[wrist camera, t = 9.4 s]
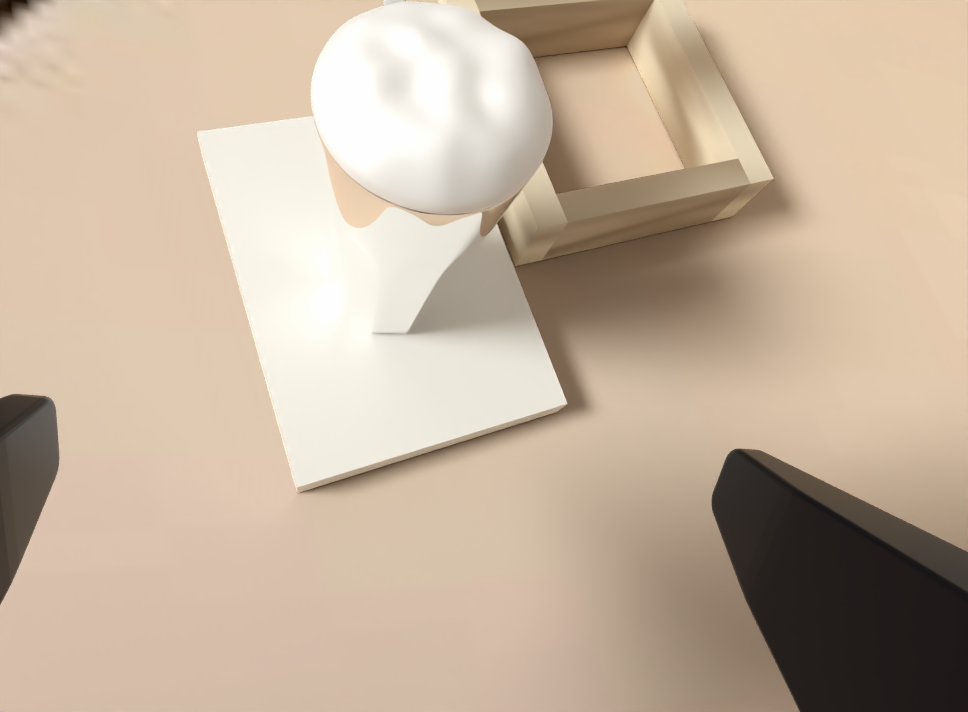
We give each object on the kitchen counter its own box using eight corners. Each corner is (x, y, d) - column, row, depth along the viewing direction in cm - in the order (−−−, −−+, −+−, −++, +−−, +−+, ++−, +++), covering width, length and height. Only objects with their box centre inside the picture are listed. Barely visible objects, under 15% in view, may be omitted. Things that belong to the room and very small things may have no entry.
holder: (732, 216, 26) (774, 178, 24) (514, 266, 23) (538, 228, 21) (638, 23, 28) (668, -29, 26) (428, 46, 25) (441, -11, 23)
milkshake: (421, 180, 22) (509, -124, 13) (484, 332, 21) (630, 115, 12) (277, 211, 20) (260, -111, 11) (336, 377, 19) (370, 167, 10)
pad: (555, 412, 22) (567, 403, 21) (296, 493, 19) (297, 487, 18) (442, 117, 24) (447, 97, 23) (200, 151, 22) (196, 131, 21)
